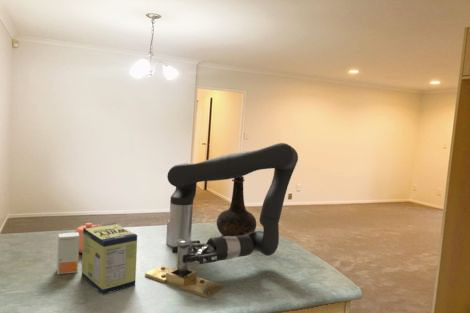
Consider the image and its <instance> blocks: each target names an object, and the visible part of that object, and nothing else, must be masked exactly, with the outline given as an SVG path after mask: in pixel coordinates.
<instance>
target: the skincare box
mask: <svg viewBox="0 0 470 313" xmlns="http://www.w3.org/2000/svg"><path fill="white" fill-rule="evenodd" d="M79 254H80V253H79V232H76V233H75V232H63V233H58V234H57V258H56V275H64V274H73V273H74V274H75V273H78V271H79Z"/></svg>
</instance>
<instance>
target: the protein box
mask: <svg viewBox="0 0 470 313" xmlns="http://www.w3.org/2000/svg"><path fill="white" fill-rule="evenodd" d="M99 225H100V226H97V225H96V226H93V227H86V228H83V252H82V253H81V254H82V256H81V258H82V261H81V277H82V278H83V279H84V280H85V281H86V282H88V284H89V285H91V287H93V288H94V289H95V290H97V291H98V292H99V293H100V294H101V295H105V294H108V293H111V292H115V291H119V290H123V289H126V288H130V287H133V286H136V277H137V276H136V274H137V250H138V249H137V247H138V235H137V234H136V233H134V232H132V231H130V230H128V229H126V228H124V227H123V226H120V225H119V224H117V223H115V222H114V223H110V224H109V223H108V224H99Z"/></svg>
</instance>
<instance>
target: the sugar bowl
mask: <svg viewBox="0 0 470 313" xmlns="http://www.w3.org/2000/svg"><path fill="white" fill-rule="evenodd" d="M100 225H101V224H93V223H92V222H86V223H85V225H80V226H79V227H77V228H76V229H75V231H74V233H76V232H79V254H82V252H83V228H86V227H93V226H100Z"/></svg>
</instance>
